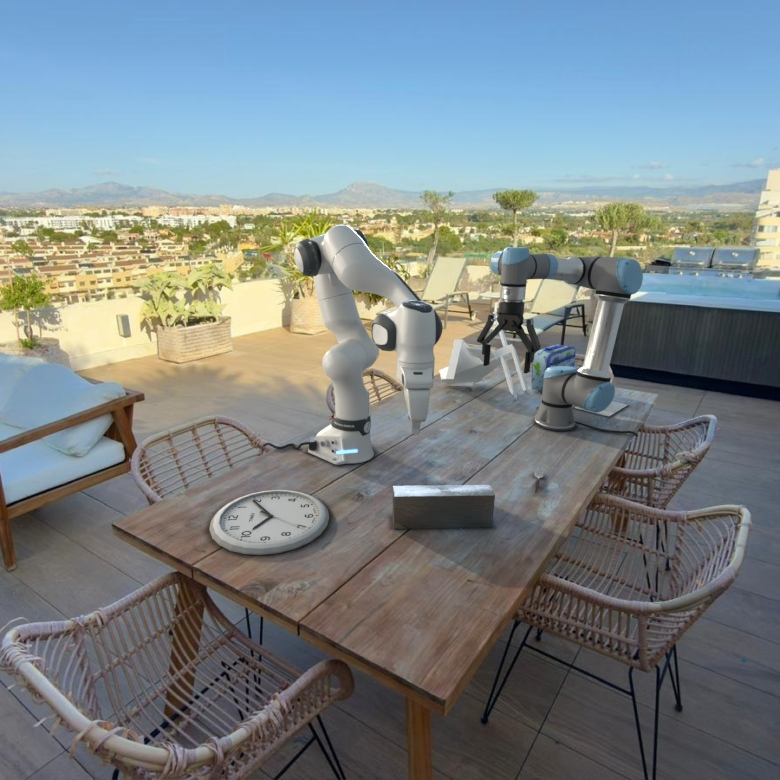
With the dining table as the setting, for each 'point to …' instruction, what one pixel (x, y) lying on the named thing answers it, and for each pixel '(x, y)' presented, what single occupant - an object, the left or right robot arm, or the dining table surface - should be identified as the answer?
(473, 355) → the white plastic object
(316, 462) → the dining table surface
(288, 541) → the wall clock
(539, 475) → the fork
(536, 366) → the lunch box
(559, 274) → the right robot arm
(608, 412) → the invitation card
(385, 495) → the dining table surface
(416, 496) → the bar
